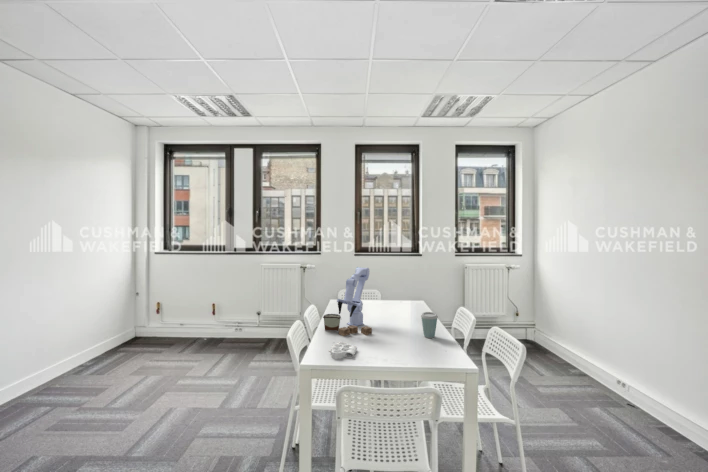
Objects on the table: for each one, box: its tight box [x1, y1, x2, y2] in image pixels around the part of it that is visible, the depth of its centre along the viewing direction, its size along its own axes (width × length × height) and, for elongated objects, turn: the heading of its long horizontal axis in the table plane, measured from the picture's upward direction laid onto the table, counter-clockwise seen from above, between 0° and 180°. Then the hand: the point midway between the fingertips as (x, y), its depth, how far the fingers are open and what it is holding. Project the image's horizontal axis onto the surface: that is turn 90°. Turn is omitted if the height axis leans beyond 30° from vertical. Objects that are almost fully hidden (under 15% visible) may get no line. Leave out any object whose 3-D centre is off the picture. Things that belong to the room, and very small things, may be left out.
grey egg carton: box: [328, 341, 358, 360], centre depth 187 cm, size 3×18×15 cm
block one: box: [360, 325, 373, 336], centre depth 222 cm, size 5×5×4 cm
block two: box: [338, 326, 350, 337], centre depth 218 cm, size 5×5×4 cm
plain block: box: [346, 325, 359, 335], centre depth 223 cm, size 5×5×4 cm
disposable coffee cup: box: [420, 311, 438, 339], centre depth 218 cm, size 11×11×15 cm
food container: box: [322, 313, 342, 332], centre depth 228 cm, size 12×6×10 cm, turn 84°
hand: (345, 315), depth 222 cm, fingers open, 7 cm apart
